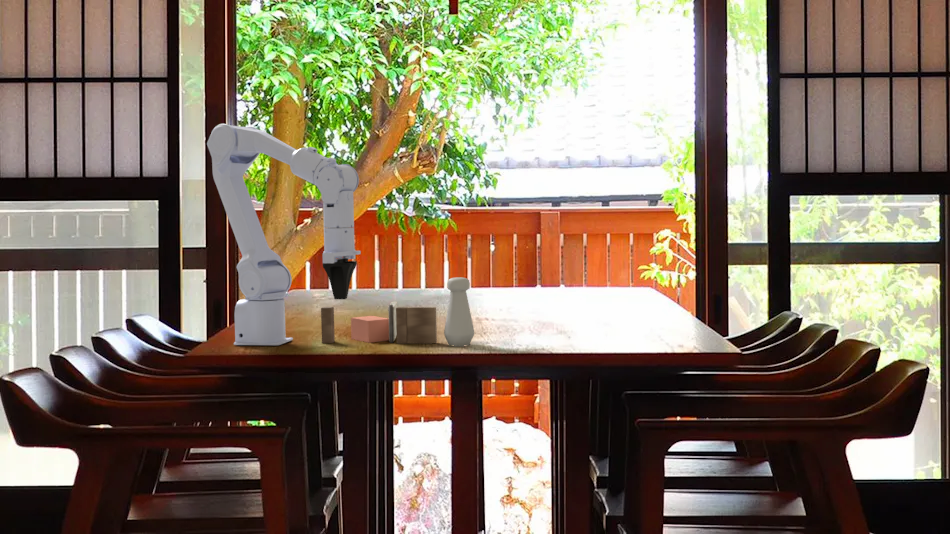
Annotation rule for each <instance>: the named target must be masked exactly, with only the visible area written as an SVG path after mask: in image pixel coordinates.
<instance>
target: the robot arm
mask: <svg viewBox="0 0 950 534" xmlns="http://www.w3.org/2000/svg"><path fill="white" fill-rule="evenodd" d="M206 145H207V149H208V151H209V154H210V156H211V163H212V164H211V166H212V170H211V171H212V177H213V181H214V183H215V185H216V189H217V191H218V194H219V198H220V199H221V202H222V205H223V207H224V211H225V214H226V215H227V219H228V221H229V224H230V227H231V229H232V232H233V234H234V237H235V241H236V243H237V246H238V248H239V251H240V253H241V259H240V260H239V262H238V263H237V264H236V270H237V272H238V273H237V274H238V286H239V289H240V292H241V294H242V295H244V296H245V298H244V299H243V298H242V299H239V300H238V301H237V302H236V303H235V306H234V316H233V317H234V338H235V340H234V342H233V346H281V345H283V344H287V343H288V342H291V341H293V339H294V338H293V337H286V336H287V334H286V311H285V309H286V308H285V307H286V305H285V304H286V301H285V298H286V297H287V292H288V291H289V290H290V288H291V285H292V282H293V281H292V280H293V279H292V274H291V272H290V270H289V268H288V267H287V266H286V265H285V264H284V263H283V261H282V258H281V256H280V255H279V254H278V253H276V252H275V251H274V250H272V249H271V248H270V247H269V244H268V242H267V239H266V236H265V233H264V230H263V228H262V225H261V223H260V219H259V217H258V214H257V211H256V208H255V207H254V204H253V200H252V199H251V195H250V193H249V191H248V188H247V185H246V183H245V179H244V175H245V172H246V171H247V170H248V169H249V168H251V166H252V164H253V163H254V162H255V160H256V159H257V158H258V157H259V155H260V154H263V155H267V156H268V157H271V158H273V159H275V160H277V161H279V162H282V163H284V164H286V165H289V167H290V172H291V173H292V174H293V175H294V176H296V177H298V178H300V179H302V180H304V181H306V182H308V183H310V184H312V185H314V186H316V188H317V189H318V190H319V192H320V194H321V201H322V206H323V208H322V209H323V247H324V249H323V250H324V251H322V252H323V253H321V254H322V267H323V269H324V271H325V273H326V274H327V278H328V279H329V283H330V287H331V291H332V294H333V295H332V296H333V298H334V300H347V299H348V296H349V291H350V284H351V280H352V276H353V274H354V271H355V269H356V266H357V263H358V262H357V260H355V259H356V255H362V254H361V252H362V251H361V250H356V249H355V248H356V247H355V216H354V213H355V209H354V208H355V207H354V201H355V200H354V193H355V192H356V190H357V189H358V187H359V183H360V177H359V173H358V172H357V170H356V169H355V168H354V167H353V166H351V165H350V164H349V163H344V164H343V163H342V164H338V163H337V159H336V158H334V157H327V156H324V155H322V154H320V153H318V148H316V147H313V146H308V147H301V148H299V149H296V148H294V147H293V146H291V145H289V144H287V143H285V142H284V141H282V140H280V139H278V138H276V137H275V136H274V135H271V134H270V133H268V132H266V131H265V130H261V129H258V128H256V127H254V126H238V125H232V124H231V125H230V124H227V123H219V124H217V125H215V127H214V128H213V129H212V130H211V134H210V135H209V137H208V140H207V142H206Z"/></svg>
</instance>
